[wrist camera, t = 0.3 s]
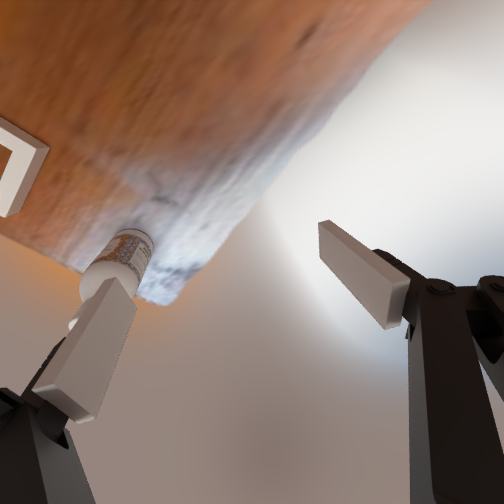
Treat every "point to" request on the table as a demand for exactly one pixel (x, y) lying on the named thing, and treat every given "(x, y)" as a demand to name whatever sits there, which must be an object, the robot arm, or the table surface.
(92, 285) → the bath foam
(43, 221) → the table surface
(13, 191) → the white rectangular compartment rack
